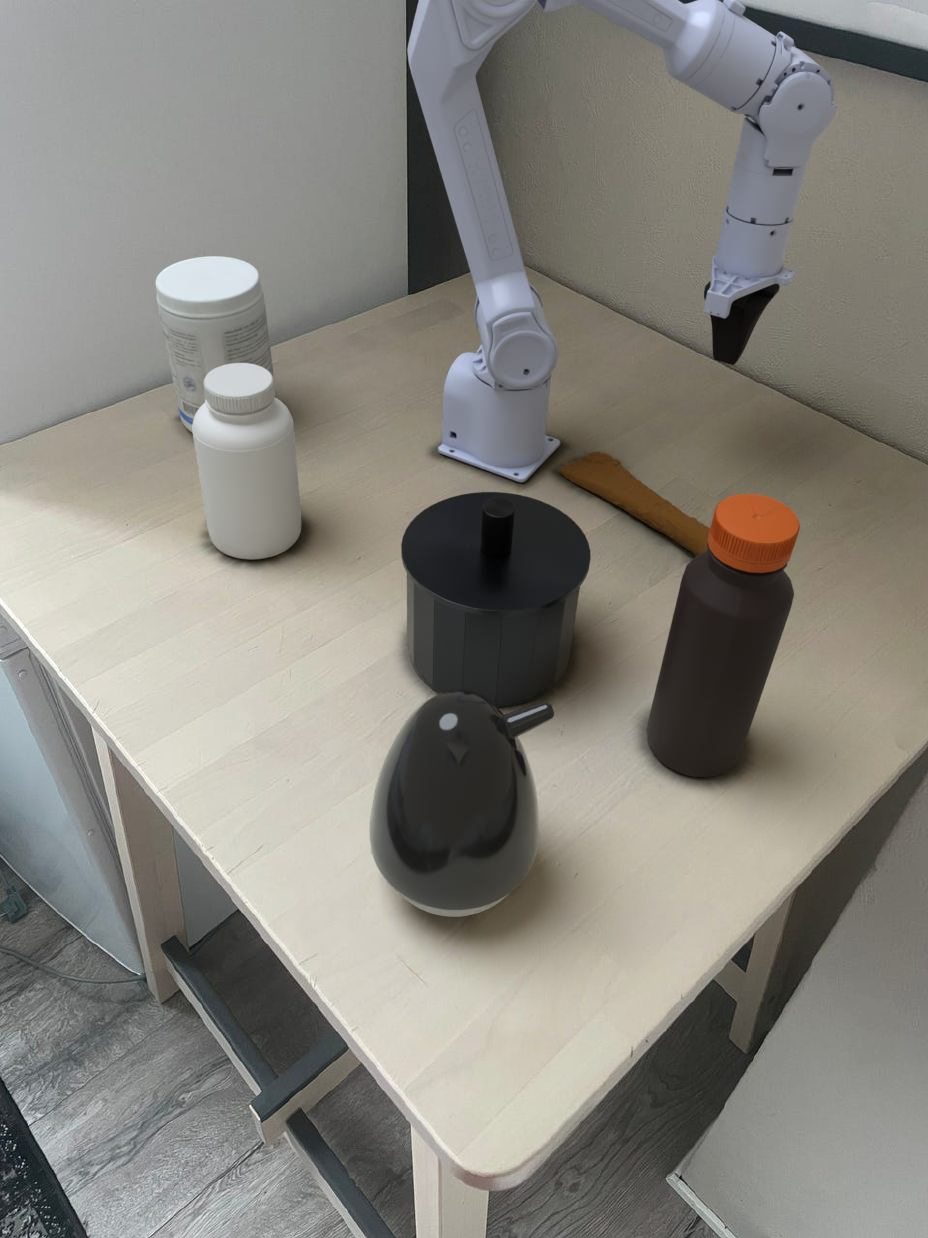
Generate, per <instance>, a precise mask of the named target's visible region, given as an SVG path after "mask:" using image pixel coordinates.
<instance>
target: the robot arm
mask: <svg viewBox="0 0 928 1238" xmlns="http://www.w3.org/2000/svg"><path fill="white" fill-rule="evenodd" d="M537 3H538V5H539V7H540V8H541V9H542V11H543V12H544V13H551V12H554V11H557V10H561V9H564V8H566V7H570V6H572V5H581V6H582V7H585V8H586V9H588V10H591V11H592V12H594V13H595V14H598V15H599V16H601V17H603V18H605V19H607V20H609V21H610V22H613V23H615V24H616V25H618V26H620V27H622V28H624V29H626V30H627V31H629V32H631V33H633V34H635V35H637V36H639V37H641V38H643V39H644V40H646V41H648V42H650V43H651V44H654V45H655V46H658V47H659V48H661V49H662V50H663V55H664V61H665V68H666V71H667V74H668V75H669V76H670V77H672V78H673V79H675V80H676V81H678V82H679V83H682V84H684V85H685V86H687V87H688V88H690V89H692V90H694V91H695V92H697V93H699V94H700V95H701V96H704V97H706V98H707V99H709V100H711V101H712V102H714V103H716V104H717V105H719V106H722V107H723V108H725V109H727V110H729V111H730V112H732V113H733V114H738V115H743V116H744V118H743V123H742V128H741V131H740V137H739V141H738V147H737V149H736V154H735V159H734V164H733V169H732V174H731V179H730V183H729V189H728V194H727V198H726V204H725V207H724V212H723V217H722V221H721V227H720V232H719V237H718V241H717V246H716V251H715V254H714V255H713V257H712V259H711V263H710V281H709V282H707V284H705V286H704V291H703V299H704V305H703V313H704V314H707V315H709V316H710V322H711V334H712V335H711V338H712V339H711V340H712V341H711V342H712V358H713V360H714V361H718V362H721V363H725V364H728V365H731V366H735V365H736V363H737V362H738V361H739V360H740V358H741V357H742V355H743V353H744V351H745V349H746V347H747V345H748V342H749V340H750V339H751V336H752V334H753V332H754V329H755V328H756V324H757V323H758V321H759V319H761V316H762V314H763V313H764V311H765V309H766V308H767V306H768V305H769V304H770V302H771V301H772V300H773V299H774V297H776V295H777V294H778V293H779V292H780V287H781V286H780V285H782V286H788V285H790V283H791V282H792V281H793V280H794V278H795V273H796V271H795V270H794V269H792V268H788V267H785V266H784V260H785V255H786V252H787V247H788V243H789V239H790V235H791V231H792V228H793V224H794V221H795V216H796V212H797V208H798V204H799V200H800V196H801V193H802V188H803V184H804V181H805V178H806V173H807V169H808V164H809V161H810V156H811V153H812V152H811V151H812V148H813V145H814V143H815V141H816V140H817V139H818V138H819V137H820V136H821V134H822V133H824V132H825V130H826V129H827V128H828V127H829V125H830V124H831V122H832V121H833V119H834V118H835V115H836V112H837V109H838V104H835V102H834V99H835V87H834V83H833V81H832V80H831V79H832V77H831V75H830V74H829V72H828V71H827V70H826V69H825V68H823V66H821V65H820V64H818V63H817V62H816V61H815V60H813V59H812V58H811V57H810V56H809V55H807V54H806V53H805V52H804V51H803V50H801V49H799V48H797V47H796V45H795V41H794V39H793V38H792V37H791V36H789V35H788V34H786V33H785V32H783V31H779V32H778V33H777V34H776V35H774V34H773V33H771V32H769V31H768V30H766V29H764V28H763V27H762V26H760V25H758V24H757V23H755V22H754V21H752V20H750V19H749V18H747V17H746V16H744V13H745V12H746V6H745V5H744V4H742V3H741V2H739V1H738V0H723V1H720V0H694V1H691V2H688V3H684V2H682V1H680V0H418V3H417V6H416V11H415V14H414V19H413V23H412V27H411V32H410V34H409V40H408V43H407V51H406V52H407V61H408V66H409V70H410V74H411V78H412V80H413V84H414V87H415V90H416V93H417V97H418V100H419V104H420V107H421V110H422V111H421V112H422V114H423V117H424V121H425V124H426V128H427V131H428V134H429V137H430V140H431V144H432V147H433V150H434V154H435V157H436V161H437V163H438V167H439V171H440V174H441V177H442V178H441V179H442V181H443V184H444V188H445V191H446V195H447V198H448V201H449V204H450V207H451V211H452V214H453V219H454V222H455V225H456V228H457V231H458V234H459V238H460V241H461V245H462V247H463V251H464V255H465V258H466V261H467V265H468V268H469V271H470V275H471V278H472V282H473V284H474V289H475V292H476V299H475V302H474V303H475V304H474V307H473V317H474V321H475V325H476V328H477V329H478V332H479V336H480V340H481V344H480V345H479V347H478V349H477V351H476V352H471V351H466V352H465V351H464V352H463V353H461V354H460V355H458V356H457V357H456V359H455V360H454V361H453V362H452V364H451V366H450V368H449V370H448V372H447V375H446V378H445V382H444V386H443V392H442V393H443V396H442V435H441V436H442V438H441V444H440V445H439V446H438V447H437V452H438V453H439V454H441V455H443V456H446V457H449V458H451V459H454V460H457V461H460V462H463V463H466V464H468V465H471V466H474V467H477V468H479V469H482V470H485V471H488V472H490V473H493V474H496V475H498V476H502V477H504V478H506V479H510V480H512V481H515V482H518V483H524V482H526V481H528V479H529V478H530V477H531V476H532V475H533V474H534V473H535V472H536V471H537V470H538V469H539V468H540V467H541V466H542V465H543V464H544V463H545V461H546V460H547V459H548V458H550V456H552V454H554V452H555V451H557V449H558V448H559V447H560V446H561V440H559V439H558V438H554V437H552V436H549V435H546V431H547V423H548V422H547V421H548V411H549V403H550V393H551V384H552V383H551V382H552V373H553V371H554V370H555V368H556V366H557V364H558V360H559V346H558V341H557V340H556V337H555V335H554V334H553V333H552V332H551V328H550V326H549V323H548V321H547V317H546V314H545V312H544V309H543V307H544V305H543V301H542V298H541V296H540V293H539V291H537V289H536V287H534V286H533V285H532V284H531V283H530V282H529V279H528V274H527V272H526V267H525V265H524V260H523V257H522V253H521V249H520V246H519V245H520V244H519V242H518V237H517V232H516V229H515V225H514V221H513V218H512V214H511V210H510V206H509V203H508V198H507V194H506V191H505V187H504V183H503V179H502V175H501V171H500V168H499V164H498V160H497V156H496V152H495V149H494V144H493V141H492V137H491V134H490V133H491V132H490V129H489V125H488V121H487V117H486V113H485V111H484V106H483V101H482V98H481V93H480V90H479V86H478V83H477V78H476V77H477V73H478V72H479V70H480V68H481V66H482V64H483V63H484V61H485V60H486V58H487V56H488V55H489V53H490V52H491V49H492V48H493V46H494V45H495V44H496V42H497V40H499V39H500V38H501V37H502V36H503V35H505V33H507V32H509V30H511V29H512V28H513V27H514V26H515V25H516V24H518V23H519V22H520V21H521V20H522V19H523V18H524V17H525V16H526V15H527V14H528V13H529V12H530V11H531V10H532V8H534V6H535V5H536V4H537Z"/></svg>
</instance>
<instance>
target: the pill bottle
mask: <svg viewBox="0 0 928 1238" xmlns="http://www.w3.org/2000/svg"><path fill="white" fill-rule="evenodd" d="M274 381H275V378H274V379H273V376H272V375H271V373H270V372H269V371H268V370H266V369H265V368H263V367H261V366H258V365H255V364H249V363H232V364H226V365H223V366H220V367H217V368H215V369H213V370H212V371H210V372H209V373H208V374H207V375H206V377H205V379H204V391H205V398H206V399H205V403H204V404H203V405H202V406H201V407H200V408H199V409H198V411H197V412H196V414H195V416H194V420H193V425H192V432H193V433H192V432H191V433H192V438H193V444H194V451H195V457H196V462H197V470H198V476H199V482H200V489H201V495H202V502H203V508H204V514H205V520H206V521H205V522H206V526H207V531H208V535H209V539H210V541H211V543H212V544H213V545H214V547H215V548H216V549H217V550H218V551H219V552H221V553H223V554H225V555H227V556H228V557H232V558H234V559H235V558H236V559H241V560H262V559H263V560H264V559H267V558H272V557H275V556H277V555H280V554H282V553H284V552H286V551H287V550H289V549H290V548H292V546H293V545H295V544H296V543H297V541H298V539H299V538H300V535H301V531H302V511H301V499H300V487H299V486H300V485H299V474H298V462H297V461H298V460H297V450H296V449H297V448H296V438H295V435H296V434H295V425H294V420H293V416H292V414H291V412H290V410H289V408H288V407H287V406H286V404H285V403H283V402H282V401H281V400H280V399H279V398H277V397H276V398H275V397H274V396H275V389H276V388H275V389H274Z"/></svg>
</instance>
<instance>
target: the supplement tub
mask: <svg viewBox="0 0 928 1238" xmlns="http://www.w3.org/2000/svg"><path fill="white" fill-rule="evenodd" d="M155 290H156V297H155V298H156V302H157V309H158V313H159V319H160V323H161V329H162V333H163V339H164V343H165V349H166V353H167V359H168V364H169V368H170V373H171V378H172V384H173V388H174V389H173V390H174V393H175V400H176V404H177V408H178V412H179V417H180V420H181V422H182V425H184V427H185V428H186V429H187V430H188V431H189V432H191V433H192V434H193V432H192V425H193V420H194V416H195V414H196V412H197V411H198V409H199V408H200V407H201V406H202V405H203V404H204V403H205V399H206V398H205V391H204V379H205V377H206V375H207V374H208V373H209V372H210V371H212V370H213V369H215V368H217V367H220V366H223V365H226V364H232V363H249V364H255V365H258V366H261V367H263V368H265V369H266V370H268V371H269V372H270V373H271V375H272V376H273V379H274V389H275V396H274V397H275V398H277V389H276V381H275V373H274V368H273V367H274V366H273V365H274V364H273V357H272V349H271V342H270V333H269V324H268V317H267V309H266V302H265V301H266V300H265V294H264V289H263V286H262V284H261V277H260V273H259V271H258V269H257V268H256V267H255V266H254V265H252V264H251V263H249V262H247V261H246V260H242V259H239V258H235V257H231V256H230V257H229V256H219V255H218V256H217V255H214V256H213V255H210V256H209V255H208V256H198V257H192V258H188V259H183V260H180V261H178V262H175V263H172V264H170V265H169V266H167V267H165V268H164V269H162V271H160V272H159V274H158V275H156V278H155Z"/></svg>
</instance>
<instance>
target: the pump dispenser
mask: <svg viewBox="0 0 928 1238" xmlns="http://www.w3.org/2000/svg"><path fill="white" fill-rule="evenodd" d="M554 718H555V710H554V708H553V704H552V703H551V702H550V701H548V700H543V701H541V702H540V701H539V702H538V703H534V704H532V705H529V706H525V707H523V708H519V709H516V710H513V711H509V712H507V713H504V712H503V711H501V709H500V708H499V707H496V706H495V705H494V704H493V703H492V702H490V701H489V700H488V699H487V698H485V697H484V696H482V695H480V694H478V693H475V692H472V691H467V690H449V691H445V692H441V693H436V694H434V695H433V696H431V697H429V698H427V699H426V700H424V701H423V702H422V703H421V704H420V705H419V706H417V708H416V709H415V710H413V712H411V714H410V715H409V716H408V718H407V719H406V720H405V722H404V723H403V724H402V726H401V728H400V729H399V731H398V733H397V734H396V736H395V737H394V739H393V741H392V743H391V745H390V747H389V749H388V751H387V754H386V756H385V758H384V761H383V763H382V765H381V768H380V771H379V773H378V777H377V779H376V780H377V781H376V784H375V788H374V793H373V798H372V802H371V808H370V809H371V810H370V816H369V828H368V830H369V845H370V851H371V855H372V858H373V861H374V863H375V866H376V867H377V869H378V871H379V873H380V874H381V876H382V877H383V879H385V881H386V882H387V883H388V884H389V885H390V886H391V887H392V888H393V889H394V890H395V892H396V893H398V895H399V896H401V897H402V898H403V899H404V900H405V901H406V902H407V903H409V904H411V905H412V906H414V907H416V908H417V909H420V910H422V911H424V912H426V913H429V914H433V915H437V916H441V917H454V918H457V917H467V916H471V915H476V914H479V913H482V912H484V911H486V910H489V909H491V908H493V907H494V906H496V905H497V904H499V903H500V902H502V901H503V900H504V899H506V897H508V896H510V894H511V893H512V892H513V891H515V889H517V888H518V887H519V886H520V885H521V884H522V883H523V881H524V880H525V879H526V877H527V876H528V875H529V873H530V871H531V870H532V867H533V865H534V863H535V861H536V857H537V853H538V848H539V841H540V811H539V801H538V794H537V788H536V781H535V778H534V773H533V771H532V770H533V769H532V767H531V764H530V761H529V758H528V755H527V753H526V751H525V748H524V746H523V744H522V742H521V740H520V738H519V737H520V736H522V735H524V734H527V733H528V732H530V731H532V730H534V729H536V728H538V727H540V726H542V725H544V724H546V723H547V722H550V721H551V720H553V719H554Z"/></svg>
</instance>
